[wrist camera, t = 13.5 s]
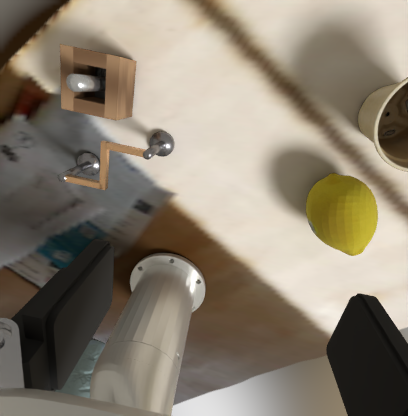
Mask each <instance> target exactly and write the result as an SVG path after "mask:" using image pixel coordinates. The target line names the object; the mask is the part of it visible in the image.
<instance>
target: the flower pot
mask: <svg viewBox="0 0 408 416" xmlns="http://www.w3.org/2000/svg"><path fill="white" fill-rule="evenodd" d="M407 100H408V77H407V78H406V79H404V80H403V81H402V82H400V83H396V84H393V85H389V86H385V87H382V88H380V89H378V90H376V91H374V92H373V93H372V94H370V95H369V96H368V97H367V99H366V100H365V102H364V103H363V105H362V107H361V109H360V111H359V114H358V124H359V128H360V130H361V132H362V133H363V134H364V135H365V136H366V137H367V138H369V139H370V140H371V141H372V142H373V143H374V144H375V147H376V150H377V152H378V153H379V155H380V156H381V158H382V159H383V160H384V161H385V162H386V163H388V164H389V165H391V166H392V167H394V168H396V169H399V170H402V171H406V172H408V111H407V106H406V101H407ZM387 112H388V113H389V116H386V113H387ZM393 129H394V130H395V132H394V133H393V134H390V135H387V136H385V135H384V133H385V132H388V131H391V130H393Z"/></svg>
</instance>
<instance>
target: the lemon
mask: <svg viewBox="0 0 408 416" xmlns="http://www.w3.org/2000/svg"><path fill="white" fill-rule="evenodd" d="M306 214H307V218H308V222H309V225H310V227H311V229H312V231H313V232H314V233H315V235H316V236H317V237H318V238H319V239H320V240H322V241H323V242H324V243H325V244H327V245H329V246H331V247H333V248H335V249H338V250H340V251H342V252H344V253H346V254H348V255H351V256H355V255H358V254H360V253H362V252H363V251H364V249H365V247H366V246H367V245H368V243H369V242H370V240H371V239H372V237H373V235H374V232H375V230H376V226H377V220H378V212H377V205H376V201H375V198H374V195H373V193H372V192H371V190H370V189H369V188H368V187H367V185H366V184H364V183H363V182H362V181H360V180H358V179H357V178H354V177H351V176H342V175H338V174H336V173H331V174H329V175H328V176H327V177H326V178H323V179H321V180H319V181H318V182H317V183H315V185H314V186H313V187H312V189H311V190H310V192H309V194H308V197H307V201H306Z"/></svg>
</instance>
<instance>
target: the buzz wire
mask: <svg viewBox="0 0 408 416" xmlns="http://www.w3.org/2000/svg"><path fill="white" fill-rule="evenodd" d="M173 149H174V140H173V138H172V136H171V135H170V134H168V133H167V132H163V131H161V132H157V133H155V134H154V135H153V136H152V137H151V139H150V148H148V149H147V150H145V149H140V148H135V147H131V146H126V145H122V144H117V143H112V142H108V141H102V142H101V157H100V160H99V158H98V157H97V156H96V155H95V154H93V153H89V152H87V153H84V154H81V155H80V156H79V157H78V160H77V165H78V166H76V167H74V168H71V169H69V170H67V171H65V172H63V173H61V174H59V175H58V179H59V181H61V182H65V181H66V182H71V183H75V184H80V185H84V186H89V187H93V188H98V189H102V190H106V189H107V188H108V168H109V150H113V151H117V152H122V153H127V154H131V155H136V156H140V157H144V158H145V159H150V158H151V157H153V156H154V155H155V154H156V155H158V156H167V155H169V154H170V153H171V152H172V151H173ZM99 171H100V181H97V180H93V179H88V178H83V177H79V176H76V175H78V174H80V173H81V172H82V173H84V174H85V175H89V176H92V175H95V174H96V173H98V172H99Z"/></svg>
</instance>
